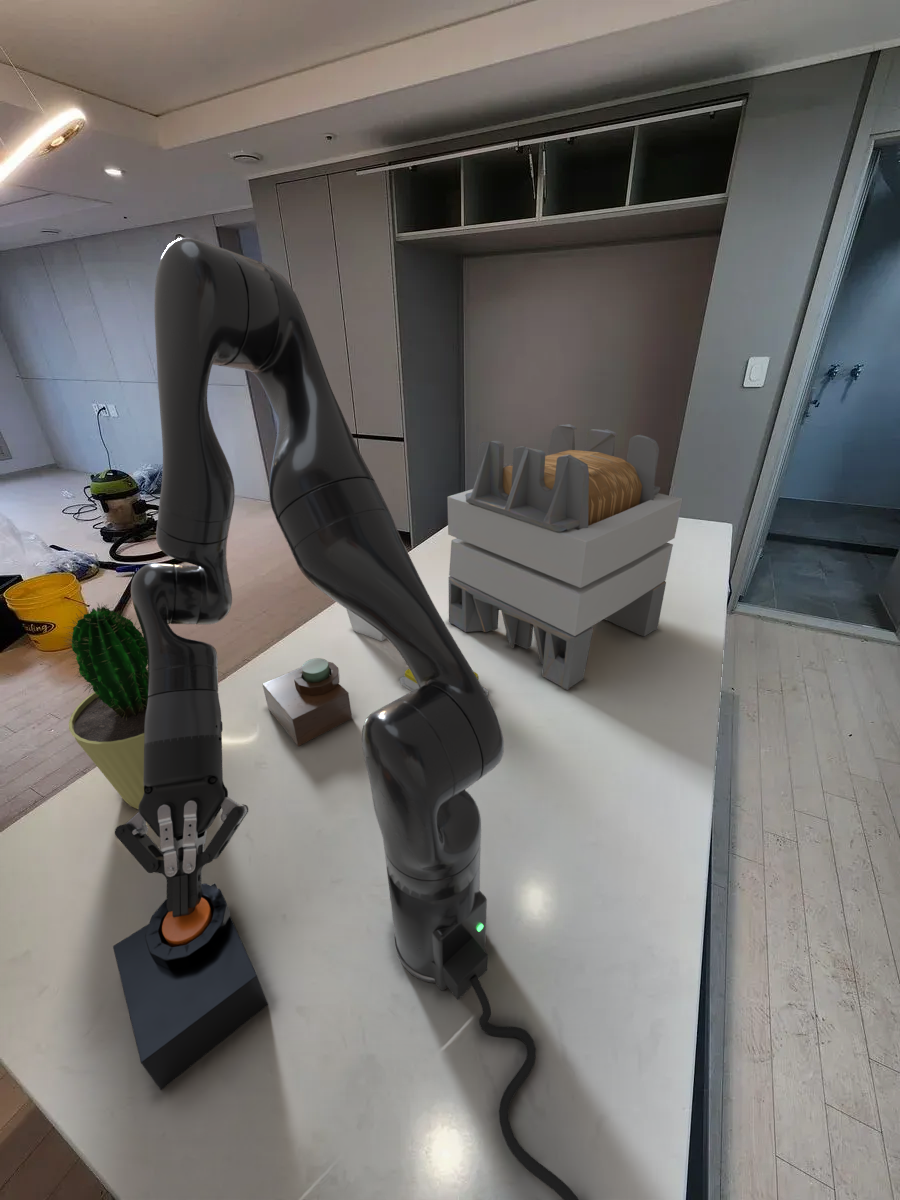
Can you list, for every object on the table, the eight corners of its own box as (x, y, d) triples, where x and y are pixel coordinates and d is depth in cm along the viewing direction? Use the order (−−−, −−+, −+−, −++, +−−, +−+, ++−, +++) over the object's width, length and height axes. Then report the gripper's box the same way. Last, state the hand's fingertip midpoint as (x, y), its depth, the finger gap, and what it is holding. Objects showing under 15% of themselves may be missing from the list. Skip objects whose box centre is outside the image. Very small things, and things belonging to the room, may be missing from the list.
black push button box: (269, 1003, 51) (254, 964, 47) (160, 1090, 45) (134, 1053, 42) (227, 910, 59) (211, 870, 56) (130, 974, 54) (106, 934, 50)
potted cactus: (228, 793, 74) (170, 616, 59) (106, 841, 67) (6, 656, 53) (213, 729, 86) (161, 568, 71) (108, 765, 79) (27, 596, 65)
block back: (358, 715, 88) (353, 681, 85) (298, 746, 82) (290, 710, 78) (324, 683, 96) (319, 650, 93) (268, 709, 90) (259, 675, 86)
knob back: (334, 676, 86) (333, 666, 85) (310, 686, 84) (309, 676, 83) (322, 664, 89) (320, 654, 88) (299, 674, 87) (297, 664, 86)
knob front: (220, 931, 52) (215, 920, 51) (174, 963, 49) (168, 951, 48) (206, 899, 55) (201, 887, 54) (162, 926, 52) (156, 915, 51)
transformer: (445, 622, 115) (441, 437, 95) (539, 578, 133) (551, 415, 114) (568, 693, 92) (595, 470, 73) (660, 628, 111) (701, 436, 91)
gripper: (99, 745, 51) (91, 941, 46) (238, 726, 53) (244, 911, 48) (134, 746, 58) (130, 916, 53) (255, 729, 60) (261, 891, 55)
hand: (184, 913), depth 51 cm, fingers closed
